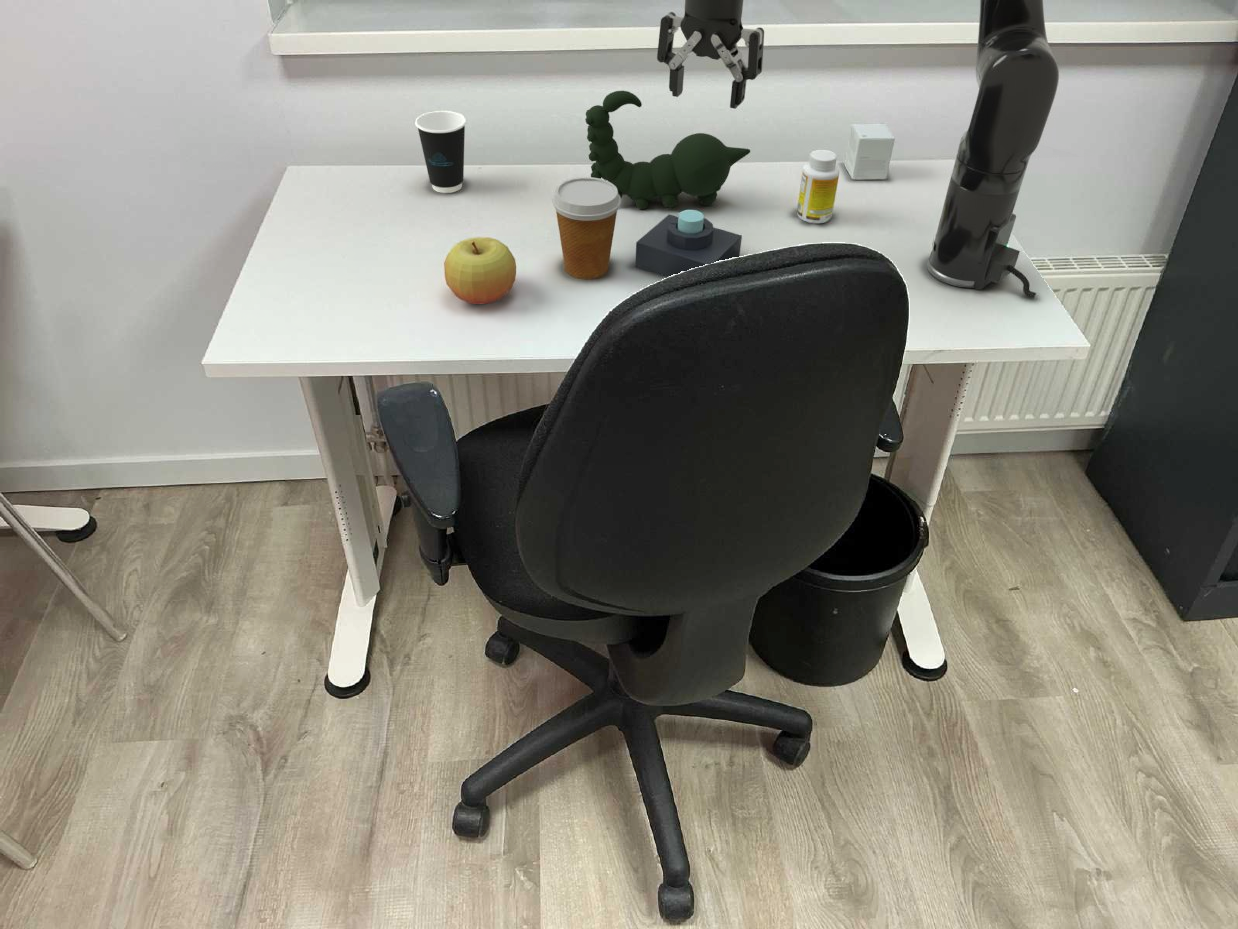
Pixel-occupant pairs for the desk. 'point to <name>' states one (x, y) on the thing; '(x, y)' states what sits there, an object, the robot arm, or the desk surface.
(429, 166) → the dixie cup
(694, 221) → the teal button cap
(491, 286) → the apple
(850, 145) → the product box
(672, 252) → the button housing
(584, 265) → the disposable coffee cup
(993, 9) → the robot arm
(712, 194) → the toy figurine
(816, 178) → the supplement bottle
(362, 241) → the desk surface
